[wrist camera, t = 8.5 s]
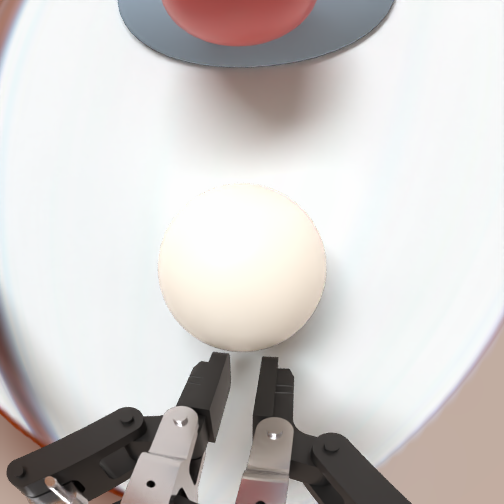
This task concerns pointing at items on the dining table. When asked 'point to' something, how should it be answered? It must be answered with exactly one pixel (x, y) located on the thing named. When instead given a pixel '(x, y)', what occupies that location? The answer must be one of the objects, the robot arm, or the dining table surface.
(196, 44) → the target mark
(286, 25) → the red ball
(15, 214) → the dining table surface
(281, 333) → the cue ball
